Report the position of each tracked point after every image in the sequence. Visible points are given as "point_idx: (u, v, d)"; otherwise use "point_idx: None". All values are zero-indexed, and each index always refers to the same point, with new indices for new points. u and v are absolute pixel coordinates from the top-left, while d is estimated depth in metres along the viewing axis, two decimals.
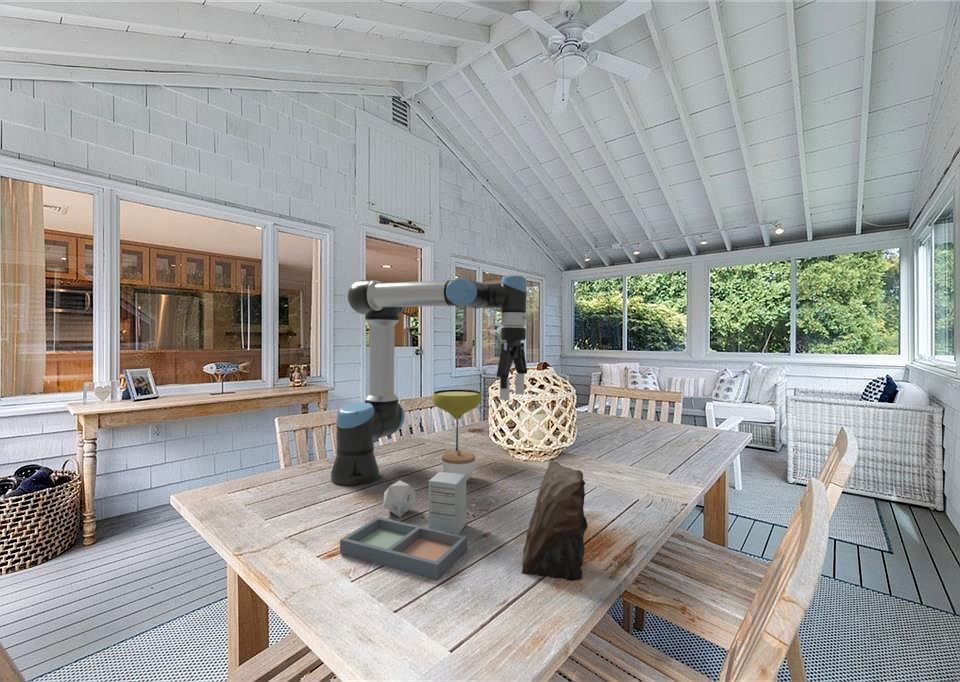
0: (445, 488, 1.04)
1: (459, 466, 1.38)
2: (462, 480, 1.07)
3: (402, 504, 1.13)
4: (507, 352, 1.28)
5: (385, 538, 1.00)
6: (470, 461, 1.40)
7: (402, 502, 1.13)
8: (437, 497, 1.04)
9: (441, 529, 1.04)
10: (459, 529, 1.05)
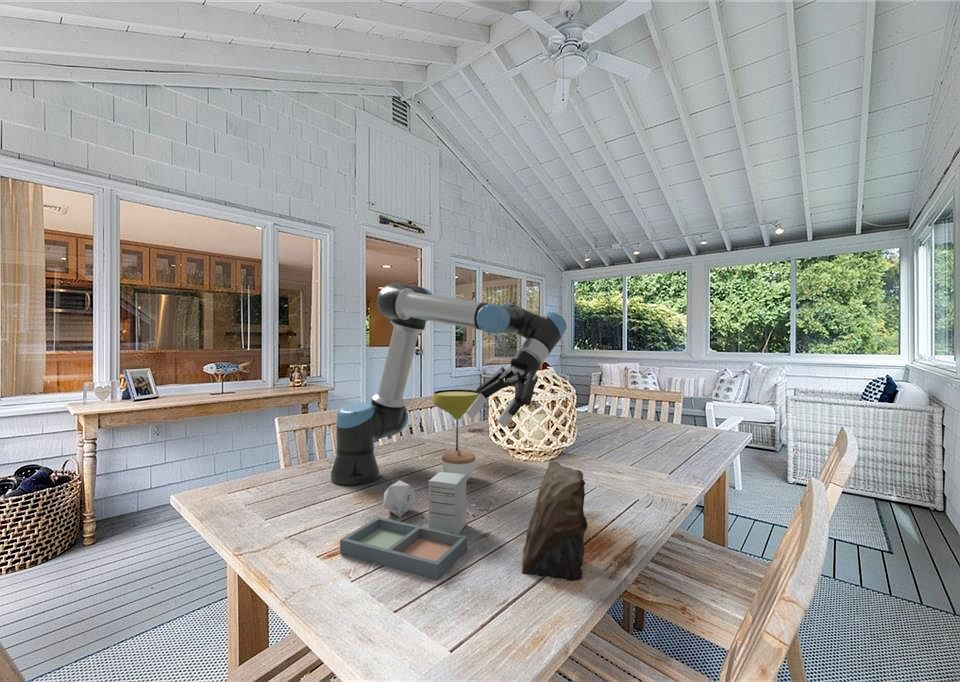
0: (445, 488, 1.04)
1: (459, 466, 1.38)
2: (462, 480, 1.07)
3: (402, 504, 1.13)
4: (534, 383, 1.13)
5: (385, 538, 1.00)
6: (470, 461, 1.40)
7: (402, 502, 1.13)
8: (437, 497, 1.04)
9: (441, 529, 1.04)
10: (459, 529, 1.05)
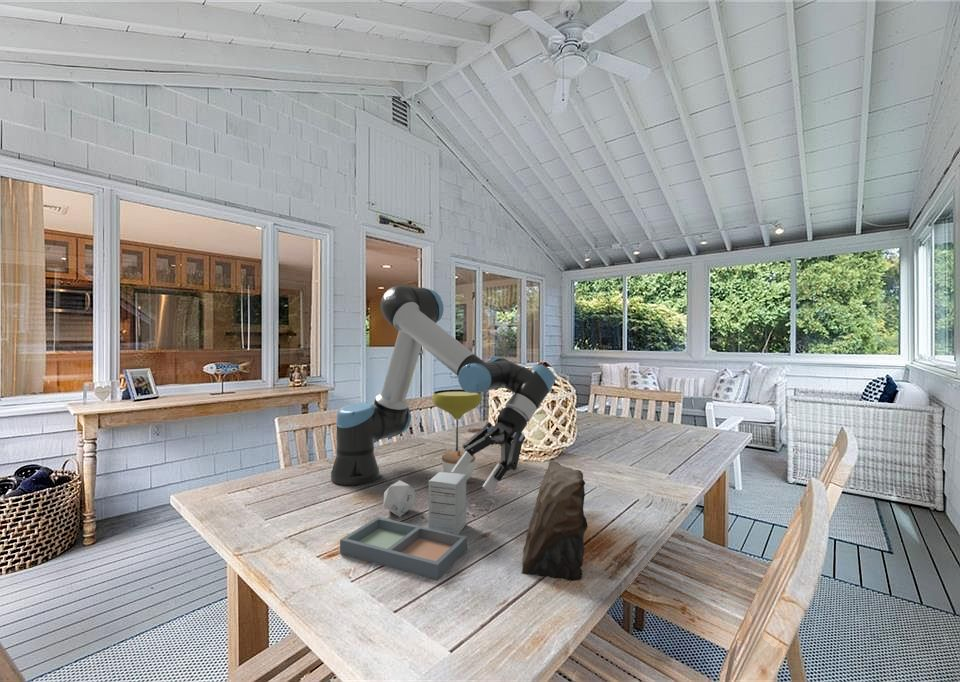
0: (445, 488, 1.04)
1: None
2: (462, 480, 1.07)
3: (402, 504, 1.13)
4: (520, 445, 1.10)
5: (385, 538, 1.00)
6: None
7: (402, 502, 1.13)
8: (437, 497, 1.04)
9: (441, 529, 1.04)
10: (459, 529, 1.05)
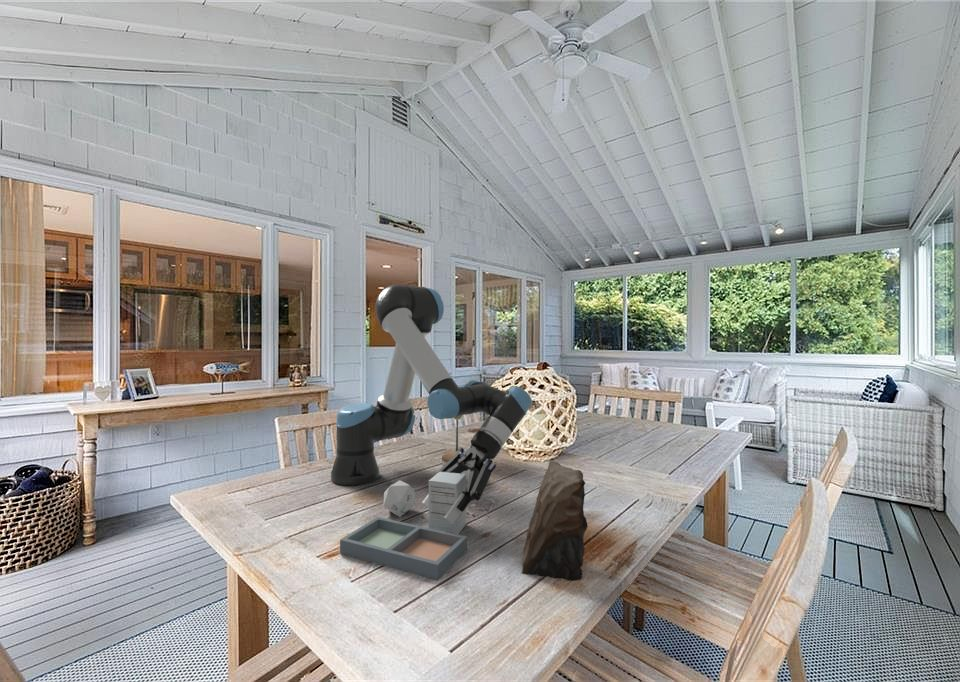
0: (445, 488, 1.04)
1: None
2: (462, 480, 1.07)
3: (402, 504, 1.13)
4: (489, 473, 1.06)
5: (385, 538, 1.00)
6: None
7: (402, 502, 1.13)
8: (437, 497, 1.04)
9: (441, 529, 1.04)
10: (459, 529, 1.05)
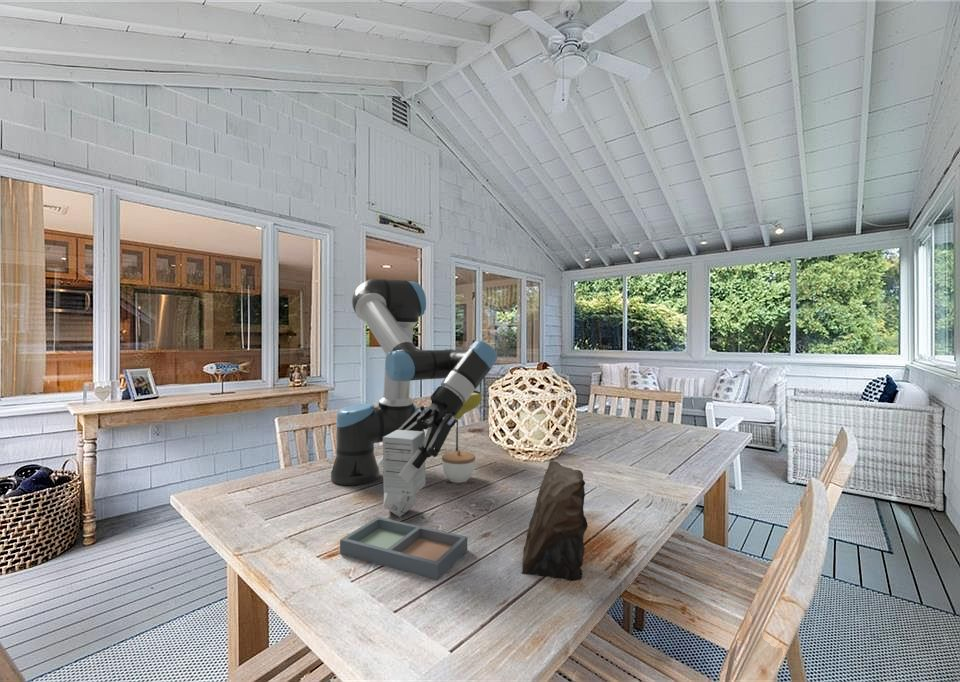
0: (400, 445, 0.96)
1: (459, 466, 1.38)
2: (420, 437, 1.00)
3: (402, 504, 1.13)
4: (449, 429, 0.99)
5: (385, 538, 1.00)
6: (470, 461, 1.40)
7: (402, 502, 1.13)
8: (392, 454, 0.97)
9: (397, 488, 0.97)
10: (416, 488, 0.98)
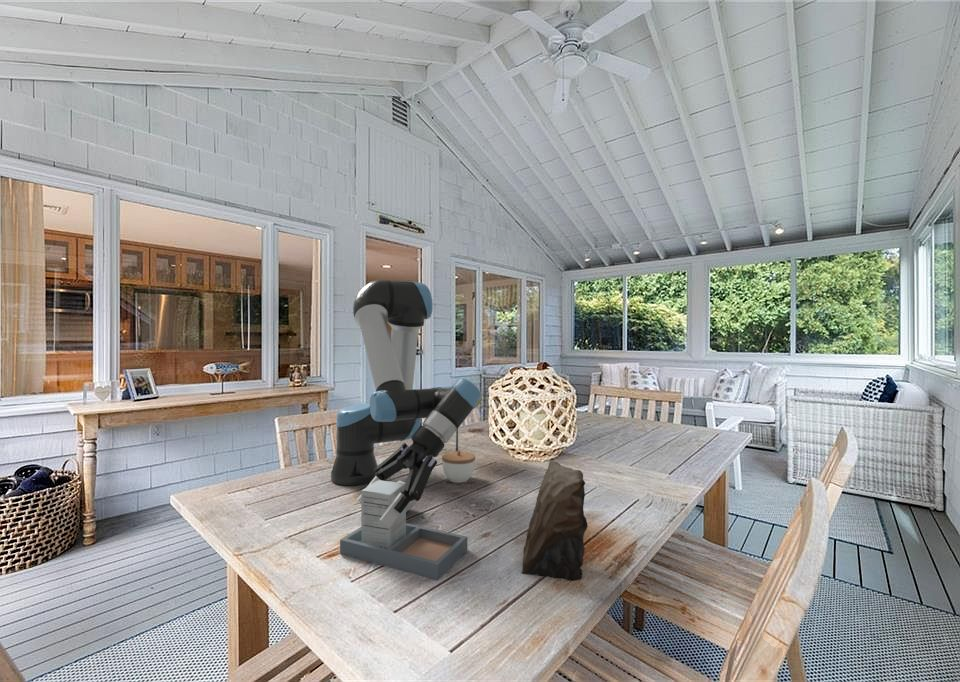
0: (378, 499, 0.95)
1: (459, 466, 1.38)
2: (400, 490, 0.98)
3: None
4: (430, 471, 0.97)
5: None
6: (470, 461, 1.40)
7: None
8: (370, 508, 0.95)
9: (374, 544, 0.95)
10: None
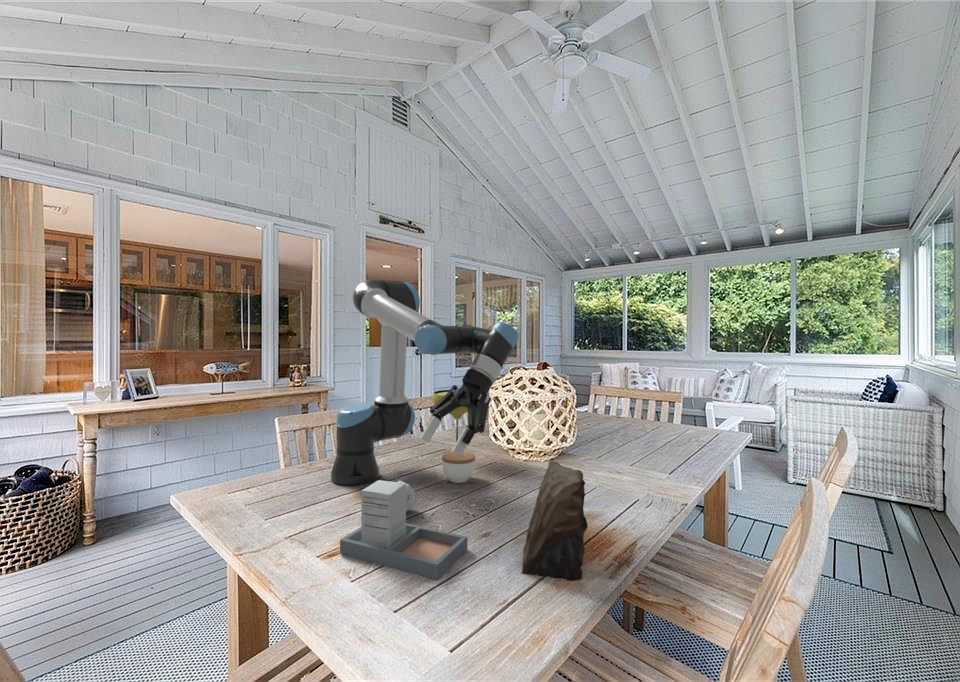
0: (378, 499, 0.95)
1: (459, 466, 1.38)
2: (400, 490, 0.98)
3: None
4: (487, 406, 1.09)
5: None
6: (470, 461, 1.40)
7: None
8: (370, 508, 0.95)
9: (374, 544, 0.95)
10: None
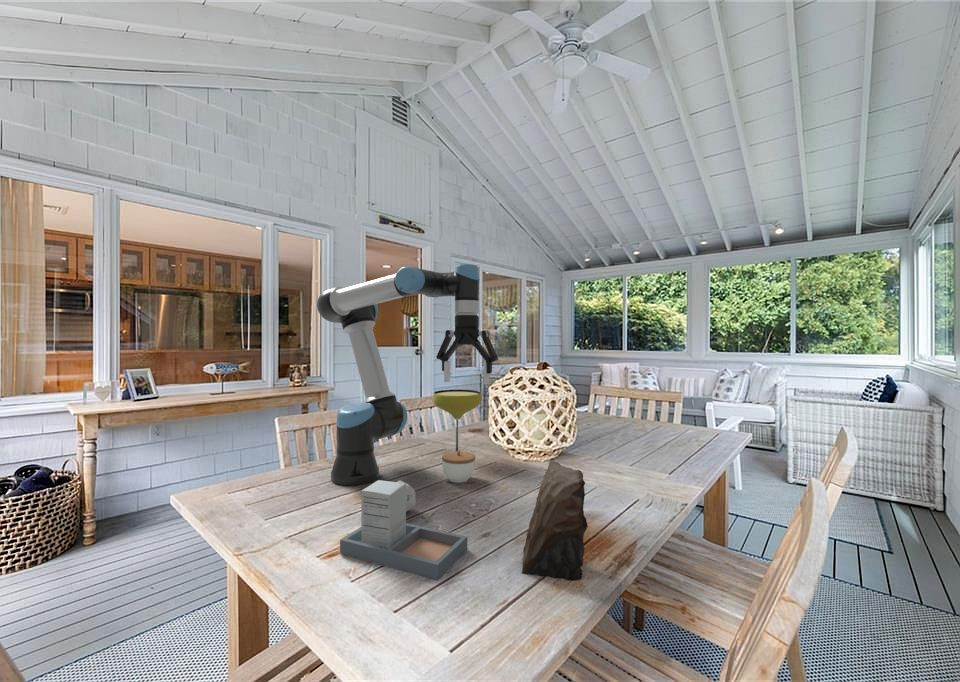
0: (378, 499, 0.95)
1: (459, 466, 1.38)
2: (400, 490, 0.98)
3: None
4: (489, 339, 1.36)
5: None
6: (470, 461, 1.40)
7: None
8: (370, 508, 0.95)
9: (374, 544, 0.95)
10: None
